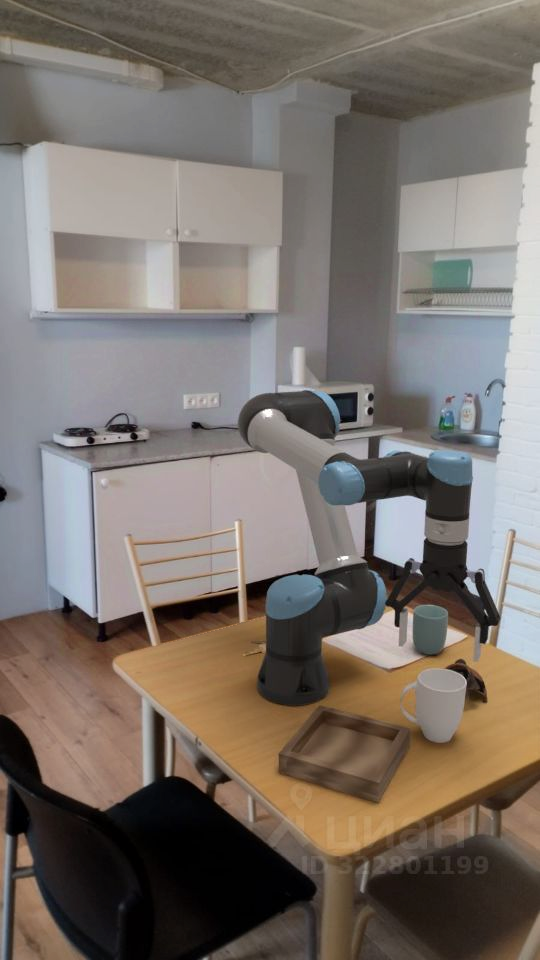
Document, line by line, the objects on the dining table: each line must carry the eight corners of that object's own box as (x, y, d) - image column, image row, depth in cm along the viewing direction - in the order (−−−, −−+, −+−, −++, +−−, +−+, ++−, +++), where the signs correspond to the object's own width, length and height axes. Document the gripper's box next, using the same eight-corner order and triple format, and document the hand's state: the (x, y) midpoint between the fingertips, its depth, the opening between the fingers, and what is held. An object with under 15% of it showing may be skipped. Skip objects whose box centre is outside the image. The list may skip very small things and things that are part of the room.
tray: (278, 772, 131) (278, 753, 130) (318, 722, 147) (319, 704, 146) (378, 802, 123) (379, 782, 122) (409, 746, 139) (410, 728, 138)
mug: (458, 724, 146) (463, 668, 143) (464, 752, 138) (469, 693, 135) (397, 720, 148) (400, 664, 144) (399, 747, 139) (403, 688, 136)
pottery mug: (495, 712, 152) (480, 683, 149) (450, 726, 155) (435, 698, 151) (484, 670, 163) (470, 643, 159) (442, 684, 165) (427, 657, 162)
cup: (420, 640, 182) (422, 601, 180) (450, 649, 178) (453, 609, 176) (405, 652, 176) (407, 612, 174) (437, 661, 172) (439, 620, 169)
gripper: (370, 535, 135) (366, 645, 140) (516, 555, 125) (506, 674, 129) (383, 524, 142) (379, 630, 147) (522, 543, 131) (513, 656, 136)
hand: (438, 651), depth 138 cm, fingers open, 13 cm apart
